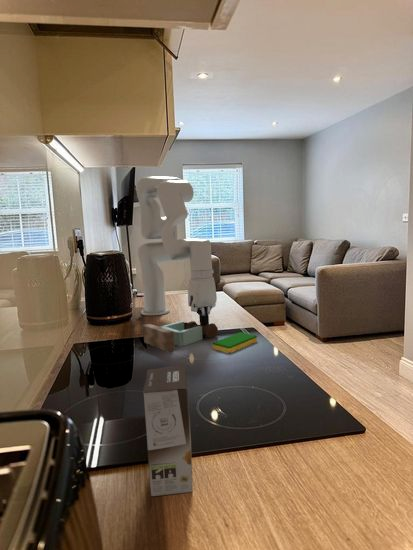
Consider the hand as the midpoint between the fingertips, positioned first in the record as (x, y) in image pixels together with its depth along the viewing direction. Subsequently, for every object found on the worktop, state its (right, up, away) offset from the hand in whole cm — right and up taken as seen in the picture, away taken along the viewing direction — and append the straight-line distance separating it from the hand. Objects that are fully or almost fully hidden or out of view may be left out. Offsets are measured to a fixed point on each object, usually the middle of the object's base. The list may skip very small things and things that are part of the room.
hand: (204, 325), depth 135 cm
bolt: (-2, -4, -2) cm, 5 cm away
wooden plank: (-15, -5, -12) cm, 20 cm away
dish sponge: (+10, -5, -15) cm, 18 cm away
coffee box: (-5, -14, -75) cm, 77 cm away
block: (-8, -4, -6) cm, 11 cm away
